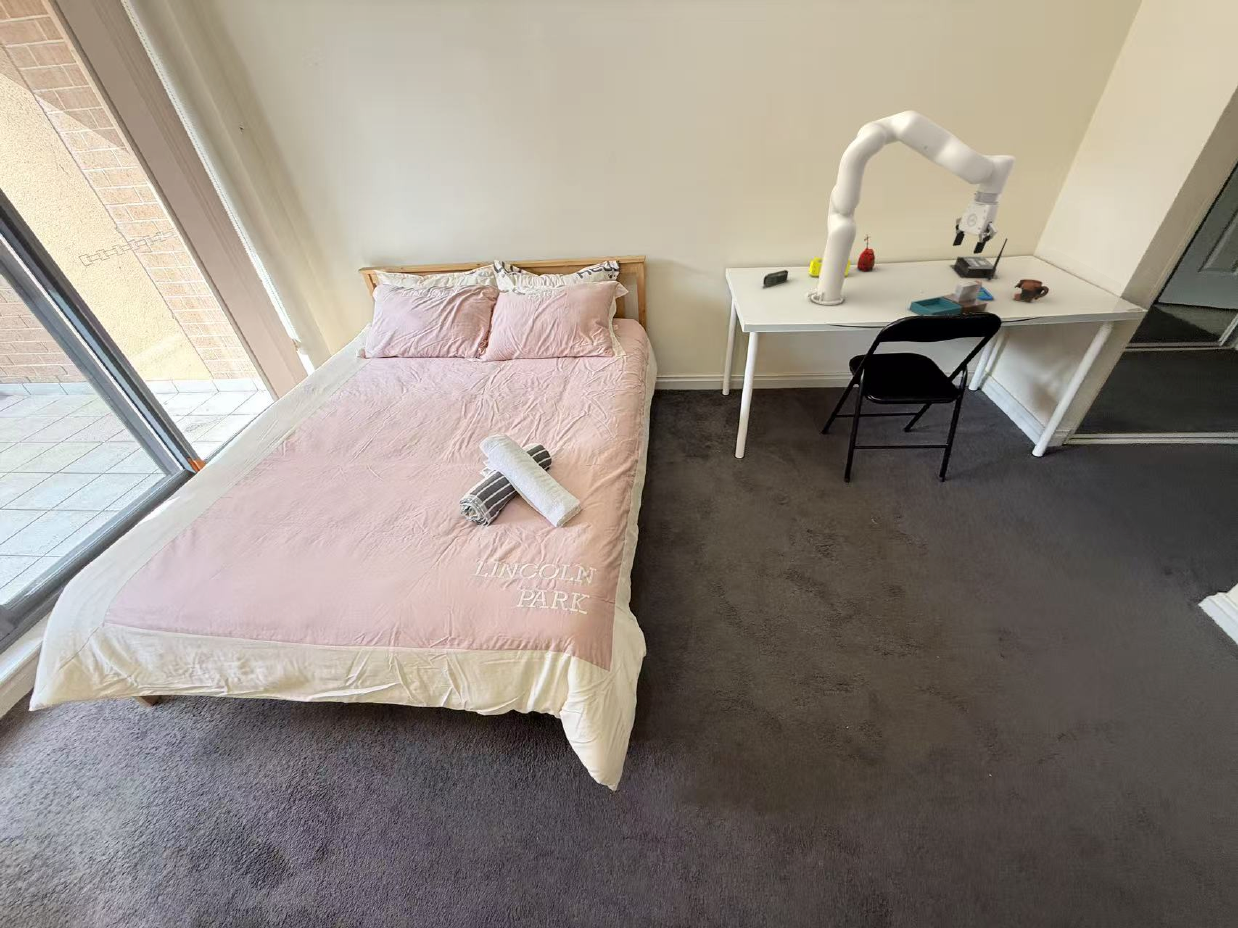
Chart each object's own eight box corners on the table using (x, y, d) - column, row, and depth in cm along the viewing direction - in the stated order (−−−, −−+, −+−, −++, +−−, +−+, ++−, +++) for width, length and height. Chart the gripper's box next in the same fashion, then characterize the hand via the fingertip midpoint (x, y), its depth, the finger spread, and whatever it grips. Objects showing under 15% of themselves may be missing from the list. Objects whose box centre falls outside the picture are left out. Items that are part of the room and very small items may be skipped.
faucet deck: (960, 315, 185) (963, 307, 183) (935, 303, 195) (938, 295, 193) (988, 310, 187) (991, 302, 185) (962, 298, 197) (965, 290, 195)
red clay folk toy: (867, 273, 223) (876, 238, 214) (852, 270, 227) (861, 235, 218) (875, 269, 227) (884, 234, 217) (860, 265, 231) (869, 231, 221)
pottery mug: (1004, 299, 195) (1013, 277, 193) (1015, 305, 200) (1024, 284, 198) (1039, 300, 185) (1049, 278, 183) (1049, 307, 190) (1059, 285, 188)
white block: (957, 302, 187) (964, 286, 183) (952, 299, 189) (958, 283, 185) (976, 298, 189) (983, 282, 185) (970, 296, 191) (977, 280, 187)
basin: (930, 320, 184) (932, 312, 182) (909, 309, 192) (911, 301, 190) (959, 314, 186) (962, 307, 184) (937, 304, 194) (940, 296, 192)
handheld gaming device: (980, 283, 204) (994, 297, 193) (979, 286, 205) (993, 300, 194) (958, 283, 206) (971, 297, 194) (957, 285, 206) (970, 299, 195)
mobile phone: (785, 268, 220) (761, 275, 214) (790, 270, 218) (766, 277, 212) (783, 279, 224) (759, 287, 217) (788, 281, 222) (764, 288, 215)
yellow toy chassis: (810, 277, 223) (814, 258, 218) (808, 273, 227) (811, 254, 222) (847, 277, 221) (851, 258, 215) (844, 273, 225) (849, 254, 220)
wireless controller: (950, 265, 225) (965, 225, 214) (984, 265, 223) (1000, 225, 212) (964, 281, 210) (980, 238, 199) (1000, 281, 208) (1019, 238, 197)
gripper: (959, 193, 175) (940, 243, 186) (999, 204, 162) (976, 257, 173) (976, 191, 176) (957, 241, 187) (1017, 202, 163) (994, 255, 174)
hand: (966, 249), depth 180 cm, fingers open, 9 cm apart
